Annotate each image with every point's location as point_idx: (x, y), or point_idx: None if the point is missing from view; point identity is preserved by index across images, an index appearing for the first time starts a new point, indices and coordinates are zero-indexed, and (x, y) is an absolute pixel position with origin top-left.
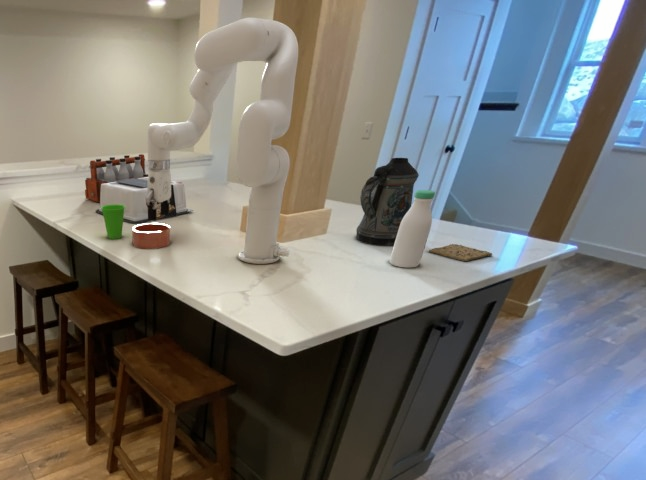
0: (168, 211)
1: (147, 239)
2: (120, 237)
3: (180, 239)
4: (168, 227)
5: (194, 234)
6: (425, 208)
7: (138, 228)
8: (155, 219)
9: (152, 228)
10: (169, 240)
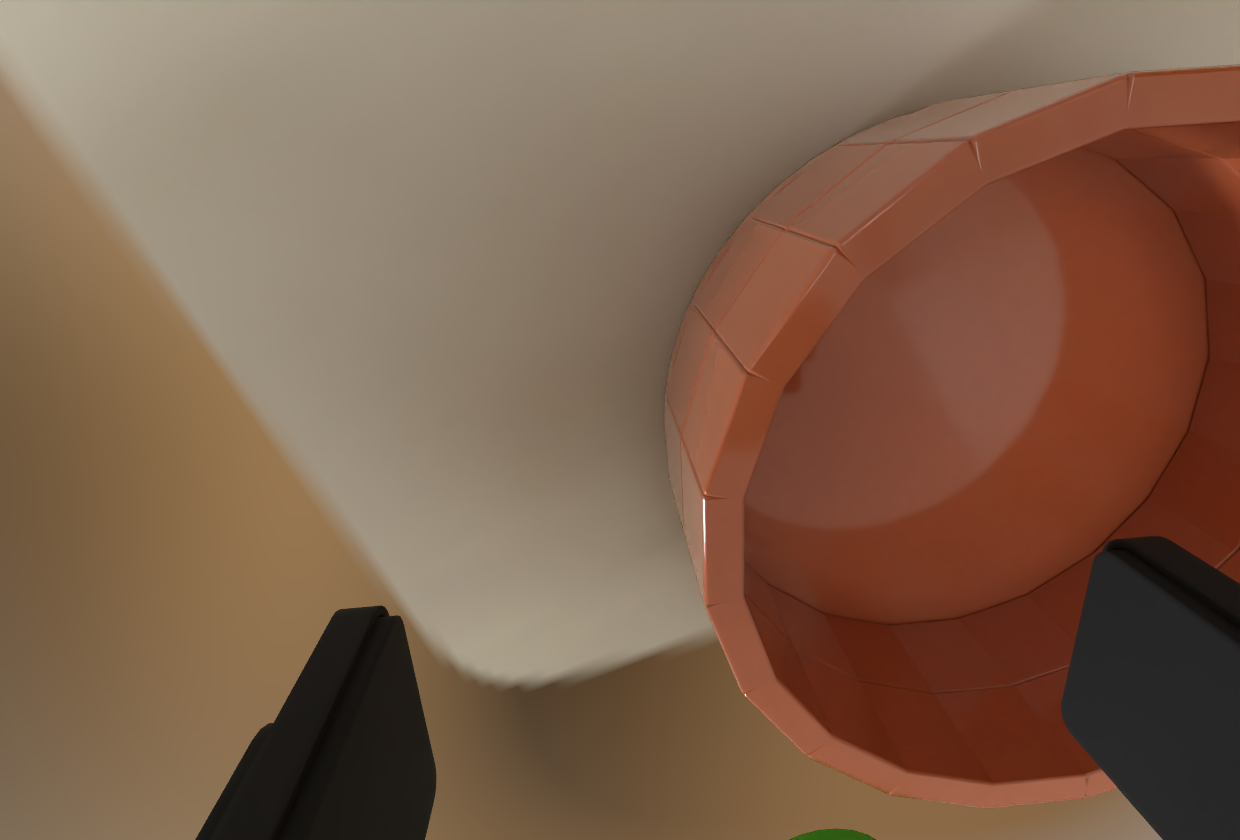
0: (345, 666)
1: None
2: (821, 833)
3: (540, 91)
4: (1007, 166)
5: (78, 8)
6: None
7: (952, 740)
8: (1182, 556)
9: (749, 605)
10: (924, 112)
